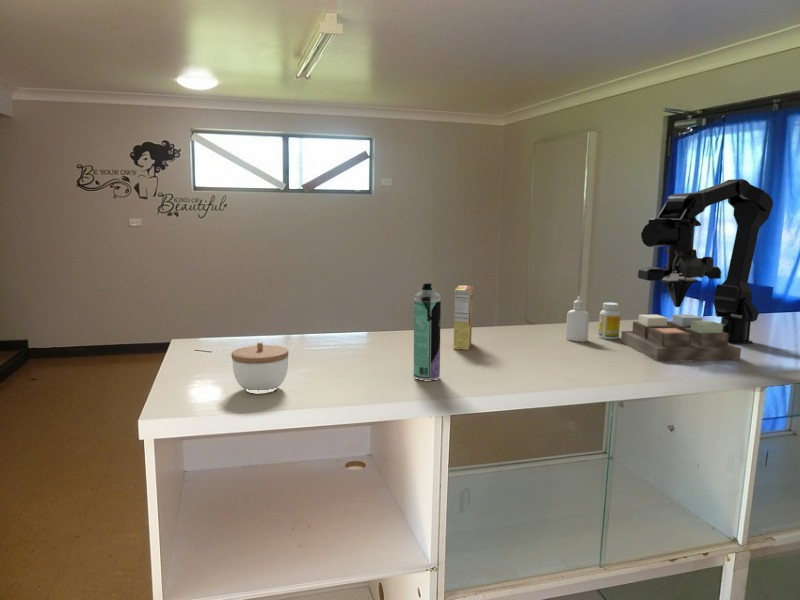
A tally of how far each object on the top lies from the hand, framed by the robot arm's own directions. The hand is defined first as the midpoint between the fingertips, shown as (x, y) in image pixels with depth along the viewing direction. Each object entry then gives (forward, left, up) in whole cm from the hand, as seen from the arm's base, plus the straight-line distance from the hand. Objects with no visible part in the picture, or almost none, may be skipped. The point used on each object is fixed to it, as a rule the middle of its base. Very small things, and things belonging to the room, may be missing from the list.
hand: (677, 307), depth 148 cm
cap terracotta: (+5, +7, -8) cm, 11 cm away
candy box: (+54, -5, -11) cm, 55 cm away
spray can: (+66, +24, -11) cm, 71 cm away
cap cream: (+5, -2, -6) cm, 8 cm away
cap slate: (-4, -2, -6) cm, 7 cm away
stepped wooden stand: (+1, +2, -11) cm, 11 cm away
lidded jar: (+99, +31, -11) cm, 104 cm away
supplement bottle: (+12, -14, -11) cm, 21 cm away
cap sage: (-4, +7, -6) cm, 10 cm away
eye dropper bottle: (+22, -11, -11) cm, 26 cm away
